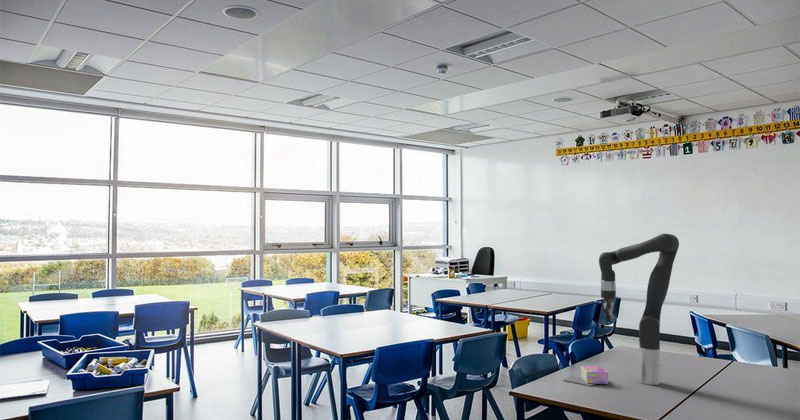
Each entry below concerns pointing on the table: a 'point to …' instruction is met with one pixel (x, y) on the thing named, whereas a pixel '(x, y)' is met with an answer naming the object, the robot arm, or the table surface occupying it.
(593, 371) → the box
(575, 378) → the mat
